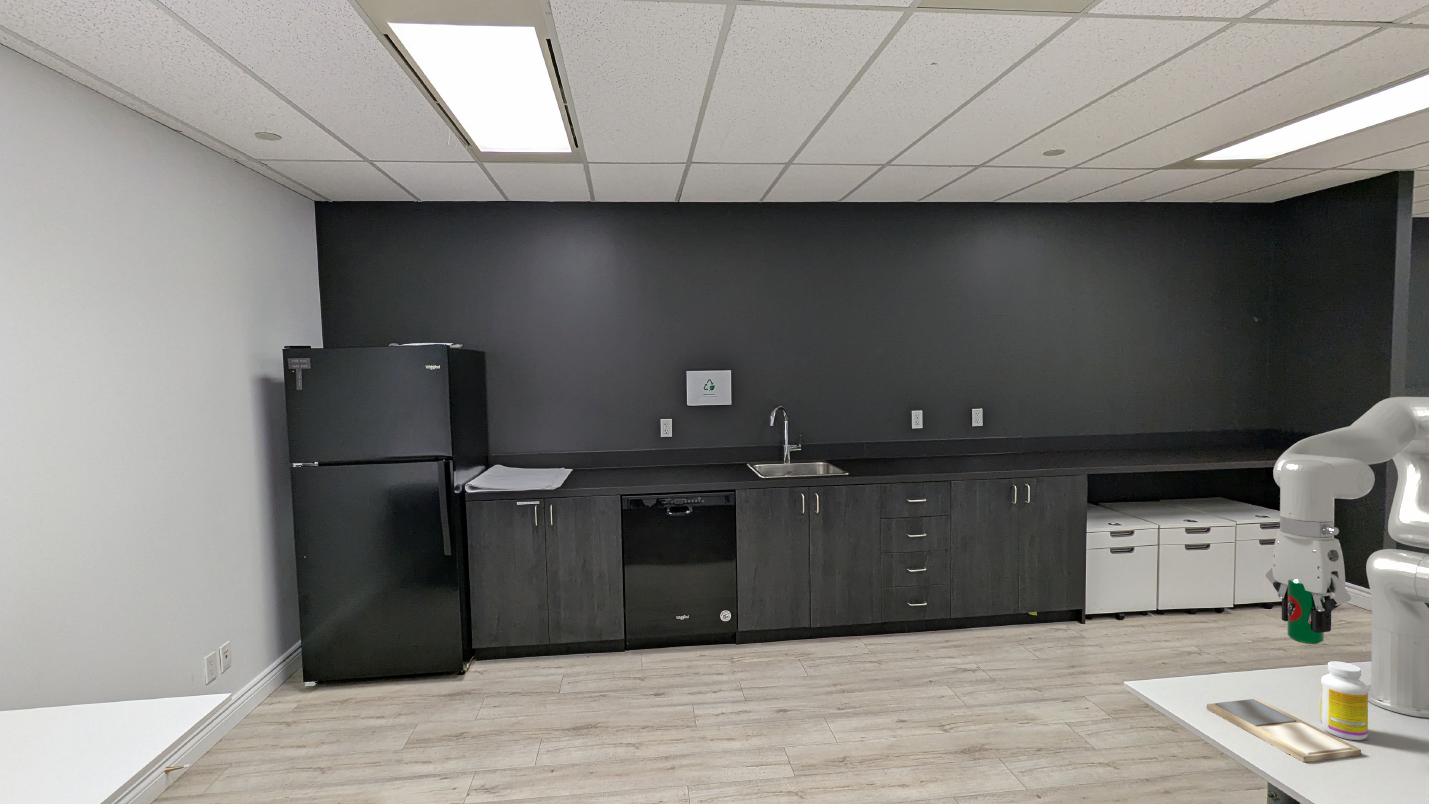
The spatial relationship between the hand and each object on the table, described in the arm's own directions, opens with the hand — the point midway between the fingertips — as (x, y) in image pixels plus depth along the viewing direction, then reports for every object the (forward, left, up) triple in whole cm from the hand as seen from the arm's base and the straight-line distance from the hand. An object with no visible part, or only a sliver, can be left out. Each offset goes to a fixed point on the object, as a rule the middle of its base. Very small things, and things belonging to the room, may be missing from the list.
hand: (1305, 624), depth 128 cm
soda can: (0, 0, -3) cm, 3 cm away
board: (0, -5, -22) cm, 23 cm away
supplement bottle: (-11, -2, -23) cm, 25 cm away
